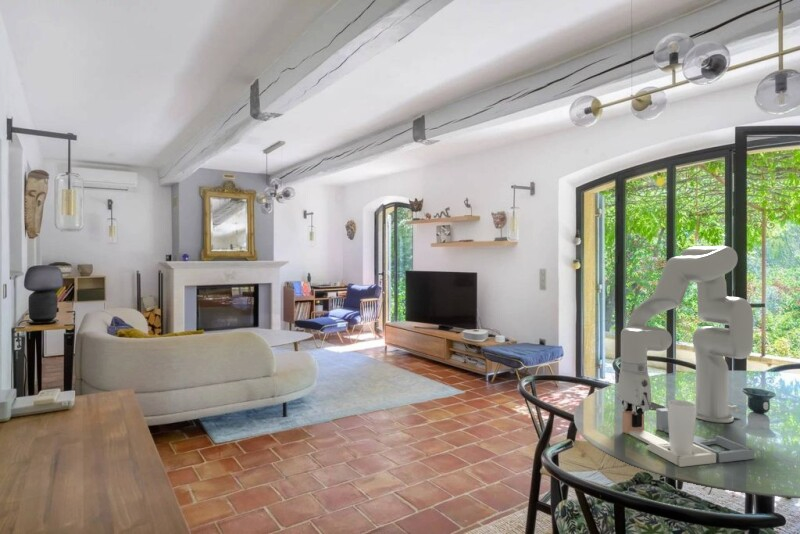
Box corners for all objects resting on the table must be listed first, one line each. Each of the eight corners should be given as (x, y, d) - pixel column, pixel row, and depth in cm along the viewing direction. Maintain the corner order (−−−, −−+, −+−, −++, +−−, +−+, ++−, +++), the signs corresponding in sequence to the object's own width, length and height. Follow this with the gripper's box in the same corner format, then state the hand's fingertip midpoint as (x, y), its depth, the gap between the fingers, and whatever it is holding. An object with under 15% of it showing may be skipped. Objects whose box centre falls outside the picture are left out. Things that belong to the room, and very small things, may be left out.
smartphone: (651, 408, 174) (617, 396, 189) (651, 411, 174) (617, 399, 189) (666, 406, 177) (631, 394, 192) (666, 409, 177) (631, 397, 192)
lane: (645, 429, 154) (645, 409, 154) (716, 462, 128) (716, 439, 128) (614, 432, 151) (615, 412, 151) (680, 466, 126) (680, 442, 126)
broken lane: (678, 426, 156) (679, 407, 156) (754, 458, 131) (754, 435, 131) (649, 429, 154) (649, 409, 154) (719, 462, 128) (720, 438, 128)
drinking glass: (699, 462, 129) (700, 407, 129) (672, 460, 130) (672, 406, 130) (689, 453, 135) (690, 400, 135) (663, 451, 137) (664, 399, 137)
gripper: (663, 372, 144) (662, 433, 144) (626, 361, 160) (626, 416, 160) (641, 373, 142) (641, 435, 143) (606, 362, 158) (606, 417, 158)
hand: (633, 424), depth 151 cm, fingers closed on lane, 2 cm apart
